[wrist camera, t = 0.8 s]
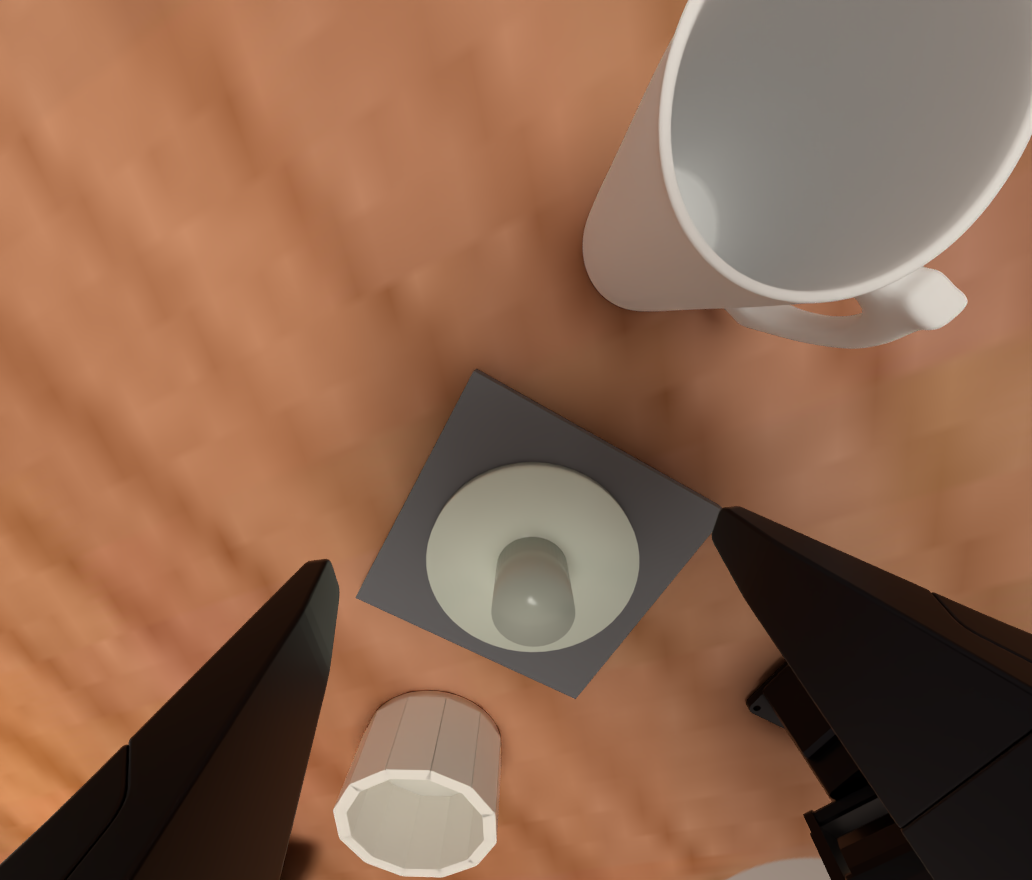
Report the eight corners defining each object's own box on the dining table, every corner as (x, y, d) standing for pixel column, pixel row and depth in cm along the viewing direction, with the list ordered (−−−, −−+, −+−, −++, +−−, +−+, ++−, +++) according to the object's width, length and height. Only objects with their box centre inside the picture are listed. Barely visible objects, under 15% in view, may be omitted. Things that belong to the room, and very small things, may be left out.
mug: (547, 250, 18) (581, 124, 7) (649, 124, 17) (913, -306, 5) (686, 386, 20) (897, 467, 9) (790, 284, 19) (1218, 218, 7)
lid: (676, 524, 21) (714, 574, 17) (565, 666, 25) (574, 738, 20) (489, 423, 20) (479, 450, 16) (397, 588, 23) (368, 648, 19)
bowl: (525, 725, 27) (525, 809, 23) (463, 804, 30) (451, 894, 25) (401, 670, 26) (372, 746, 22) (347, 757, 29) (312, 842, 24)
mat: (718, 504, 22) (727, 513, 21) (573, 685, 26) (575, 699, 25) (476, 368, 20) (473, 370, 19) (362, 587, 24) (355, 597, 23)
